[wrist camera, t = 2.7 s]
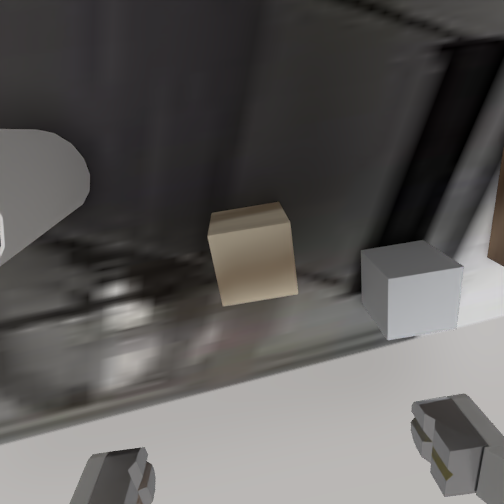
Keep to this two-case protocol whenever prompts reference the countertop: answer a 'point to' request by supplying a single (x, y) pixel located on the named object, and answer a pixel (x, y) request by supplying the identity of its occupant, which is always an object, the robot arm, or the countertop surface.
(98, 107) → the countertop surface
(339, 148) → the countertop surface
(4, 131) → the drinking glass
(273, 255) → the ash block
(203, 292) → the countertop surface
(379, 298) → the grey block
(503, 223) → the walnut block
